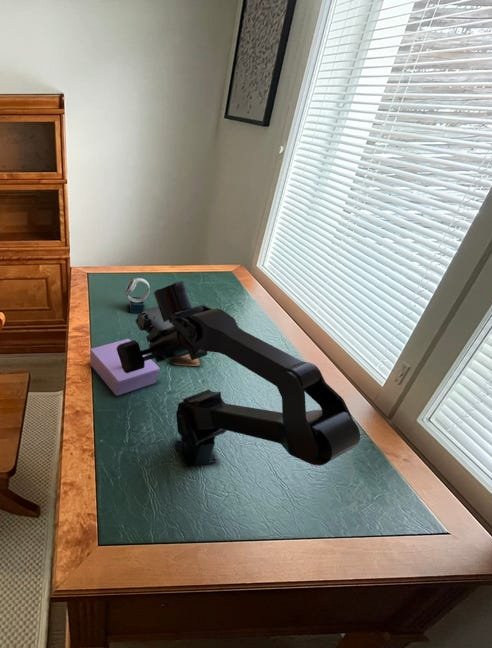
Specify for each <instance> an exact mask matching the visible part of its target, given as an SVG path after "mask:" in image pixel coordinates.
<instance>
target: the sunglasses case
mask: <svg viewBox="0 0 492 648" xmlns="http://www.w3.org/2000/svg"><path fill="white" fill-rule="evenodd" d="M172 326H174V325H173V323H172ZM170 362H171V363H172V365H175V366H181V367H199V366H200V364H201V363H200V358H198V359H195V360H191V358H190V355H189V354H188V355H185V356H180V357H174V358H170Z"/></svg>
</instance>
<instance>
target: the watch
mask: <svg viewBox="0 0 492 648" xmlns="http://www.w3.org/2000/svg"><path fill="white" fill-rule="evenodd" d="M138 283H143V284H145V285H146V286H147V289H146V291H145V292H144V294H143V295H142V297H141V296H139V297H138V296H137V297H136V296H130V294H131V293H132V292H133V291H135V288H136V286H137V284H138ZM150 288H151V287H150V284H149V281H147V280H146V278H142V277H135V278H132V279H130V281H129V282H128V284H127V286H126V287H125V293H126V297H127V299H128V300H129V313H130V314H141V312H144V306H145V304H144V302H145V300H147V298H148V297H149V295H150V293H151V289H150Z"/></svg>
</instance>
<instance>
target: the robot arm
mask: <svg viewBox="0 0 492 648" xmlns="http://www.w3.org/2000/svg"><path fill="white" fill-rule="evenodd" d="M153 296H154V298H155V301H156V304H157V306H154V307H149V308H146V309H144V310H143V312H141V313H137V317H136V319H135V324H136V326H137V328H138V329H139V331H141V332H144V331H145V332H146V333H147V334H148V335H146V336H145V338H146V341H147V343H149V344H148V346H149V347H148V348H147V349H143V350H142V349H141V347H140V344H139V342H138V341H137V340H136V339H133V340H131V341H130V342H126V343H122V344H120V345H118V347H117V352H118V355H119V358H120V361H121V364H122V367H123V370H124V372H125V373H130V372H133V371H136V370H139V369H142V368H144V366H145V362H144V361H147V360H150V359H151V360H153V359H155V362H156V364H157V363H161V362H163V361H167V360H171V358H174V357H180V356H185V355H188V354H189V355H190V358H191V360H195V359H198V358H199V359H200V358H204V357H206V356H208V352H209V353H219V354H222V355H223V356H226V357H227V358H229V359H230V360H232V361H233V362H236V363H237V364H238V365H241V366H242V367H244V368H245V369H247V370H249V371H250V372H252V373H253V374H256V375H257V376H259V377H260V378H262V379H264V380H265V381H267V382H269V383H270V384H272V385H273V386H275V387H276V388H277V391H278V393H279V395H280V397H281V412H280V411H275V410H268V409H262V408H255V407H250V406H244V405H237V404H232V403H231V404H230V403H227V402H225V401H224V399H223V398H222V393H221V391H212V390H210V389H206V390H204V391H201V392H199V393H196V394H193V395H190V396H187V397H185V398H183V399H182V401H180V402H178V404H177V410H176V414H175V415H176V427H177V428H176V429H177V433H178V434H179V435H180V438H181V440H177V441H176V447H177V449H178V450H179V453H180V456H181V457H182V459H183V462H184V464H185V466H186V467H188V468H189V467H196V466H202V465H211V464H216V462H217V459H216V457H215V455H214V453H213V451H214V447H215V444H216V442H215V440H216V437H218V436H220V435H223V434H225V433H226V432H232V433H236V434H239V435H243V436H244V435H245V436H248V437H252V438H256V439H259V440H260V439H261V440H263V441H268V442H271V443H276V444H279V445H281V446H282V448H283V449H284V450H285V451H286V452H287V453H288V455H290V456H292V458H293V457H294V458H295V459H298V460H300V461H303V462H305V463H307V464H309V465H312V466H318V467H322V466H324V465H326V464H328V463H330V462H331V461H333V460H335V459H337V458H338V457H340V456H342V455H344V454H346V453H347V452H349V451H351V450H352V449H354V448H355V447H357V446H358V445H359V443H360V440H361V431H360V429H359V426H358V425H357V423H356V421H355V420H354V418H353V416H352V414H351V412H350V410H349V407H348V406H347V404H346V401H345V400H344V397H342V396H341V395H340V394H339V393H338V392H336V391H335V390H334V388H333V387H332V386H330V385H329V384H328V383H327V382H326V381H325V378H324V376H323V374H322V372H321V370H320V369H319V367H318V366H317V365H316V364H315V363H312V362H310V361H304V360H302V359H299V358H297V357H295V356H294V355H291V354H289V353H287V352H285V351H283V350H282V349H280V348H279V347H276V346H274V345H272V344H270V343H268V342H266V341H264V340H262V339H260V338H259V337H256V336H255V335H253V334H250V333H248V332H247V331H244V330H243V329H242V328H241V327H240V326H239V324H238V322H237V320H236V319H235V318H234V317H233V316H232V315H230V314H229V313H227V312H226V311H225V310H224V309H221V308H212V307H210V306H207V305H205V304H201V305H197V306H192V303H191V301H190V298H189V295H188V292H187V289H186V285H185V282H184V280H181V281H176V282H174V283H172V284H170V285H167V286H165V287H162V288H158V289H156V290H155V291H153ZM172 323H173V325H174V326H172ZM143 355H147V356H144V357H143ZM306 394H307V395H308V396H309V397H310V398H311V399H312V400H313V401H314V402H315V403H316V404H318V406H319V407H320V409H313V410H308V411H307V407H306V405H307V404H306Z"/></svg>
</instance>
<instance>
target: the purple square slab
mask: <svg viewBox="0 0 492 648" xmlns="http://www.w3.org/2000/svg"><path fill="white" fill-rule="evenodd" d="M130 341H132V340H131V339H130V338H126V339H121V340H118V341H115V342H111V343H107V344H104V345H100V346H97V347H92V348H90V350H89V353H90V352H91V353H92V354H93V355H94V356H95V357H96V358H97V360H98V361H99V362H100V363H101V364H102V365H103V367H104V368H105V369H106V370H107V371H108V372H109V373H110V375H111V376H112V377H113V378H114V379H115V380H116V382H117V383H118V384H120V383H123V382H126V381H129V380H132V379H135V378H139V377H142V376H145V375H148V374H151V373H154V372H157V371H158V372H160V371H161V368H160V367H159V366H158V364H157V363H155V362H154V360H153V359H150V360H147V361H144V362H145V366H144V368H142V369H139V370H136V371H133V372H130V373H125V372H124V370H123V367H122V364H121V361H120V358H119V355H118V352H117V347H118V345H120V344H122V343H126V342H130ZM147 355H148V354H147ZM147 355H143V357H144V356H147Z"/></svg>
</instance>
